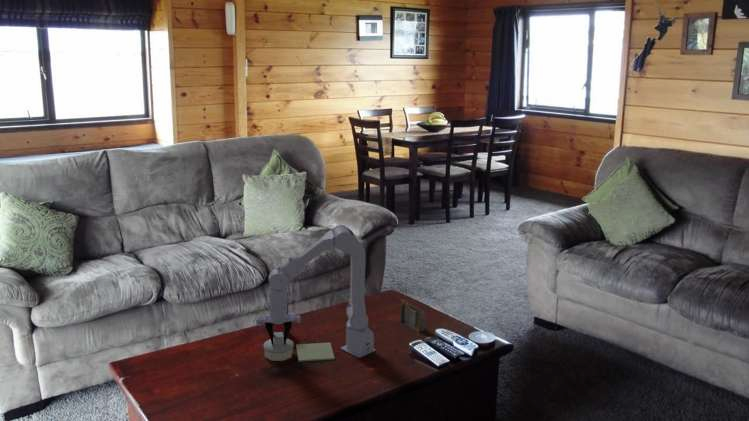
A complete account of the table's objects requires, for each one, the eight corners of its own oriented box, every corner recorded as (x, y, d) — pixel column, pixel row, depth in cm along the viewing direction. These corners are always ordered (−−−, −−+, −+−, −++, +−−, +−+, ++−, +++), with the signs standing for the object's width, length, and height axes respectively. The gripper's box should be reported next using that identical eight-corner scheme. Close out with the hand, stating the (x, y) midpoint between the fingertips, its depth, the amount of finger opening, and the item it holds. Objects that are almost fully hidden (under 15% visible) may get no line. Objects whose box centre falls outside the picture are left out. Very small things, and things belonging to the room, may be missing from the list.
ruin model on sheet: (399, 322, 257) (400, 299, 255) (405, 321, 259) (406, 297, 257) (417, 333, 248) (418, 309, 246) (424, 331, 250) (425, 307, 248)
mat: (330, 343, 238) (330, 342, 237) (334, 359, 226) (334, 358, 226) (296, 345, 235) (296, 344, 235) (298, 361, 224) (298, 360, 224)
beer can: (290, 329, 249) (290, 298, 246) (286, 336, 242) (285, 305, 239) (272, 328, 249) (272, 297, 246) (268, 335, 243) (267, 304, 240)
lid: (292, 339, 233) (292, 327, 232) (294, 352, 224) (294, 340, 223) (263, 340, 232) (263, 329, 231) (264, 354, 222) (263, 341, 221)
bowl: (297, 354, 229) (297, 346, 228) (276, 363, 222) (276, 355, 222) (281, 346, 235) (281, 338, 234) (259, 354, 228) (259, 346, 228)
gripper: (256, 310, 219) (256, 349, 222) (301, 308, 222) (301, 346, 225) (255, 302, 226) (256, 340, 229) (299, 300, 228) (299, 337, 232)
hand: (278, 342), depth 227 cm, fingers open, 3 cm apart
